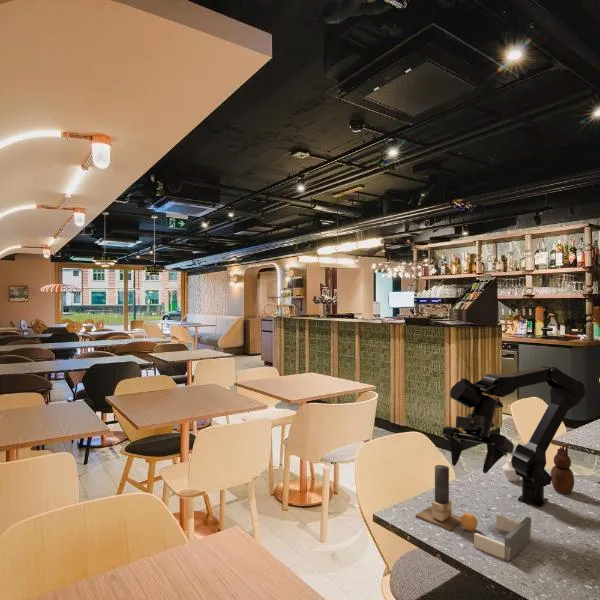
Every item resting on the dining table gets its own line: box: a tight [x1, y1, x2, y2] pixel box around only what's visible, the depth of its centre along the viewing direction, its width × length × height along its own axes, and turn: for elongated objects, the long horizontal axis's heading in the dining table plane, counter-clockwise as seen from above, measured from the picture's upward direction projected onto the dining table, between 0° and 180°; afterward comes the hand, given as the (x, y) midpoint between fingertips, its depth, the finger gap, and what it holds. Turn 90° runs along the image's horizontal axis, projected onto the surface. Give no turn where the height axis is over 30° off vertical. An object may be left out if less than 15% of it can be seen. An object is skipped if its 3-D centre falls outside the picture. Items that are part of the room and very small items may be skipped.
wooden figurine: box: [550, 444, 575, 495], centre depth 136 cm, size 7×6×15 cm
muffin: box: [502, 458, 521, 483], centre depth 144 cm, size 6×6×7 cm
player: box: [431, 464, 452, 521], centre depth 117 cm, size 5×4×13 cm
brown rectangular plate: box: [415, 505, 462, 531], centre depth 117 cm, size 8×10×1 cm
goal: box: [473, 514, 532, 562], centre depth 106 cm, size 14×8×5 cm, turn 134°
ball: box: [460, 512, 478, 532], centre depth 112 cm, size 4×4×4 cm
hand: (468, 469), depth 118 cm, fingers open, 9 cm apart
